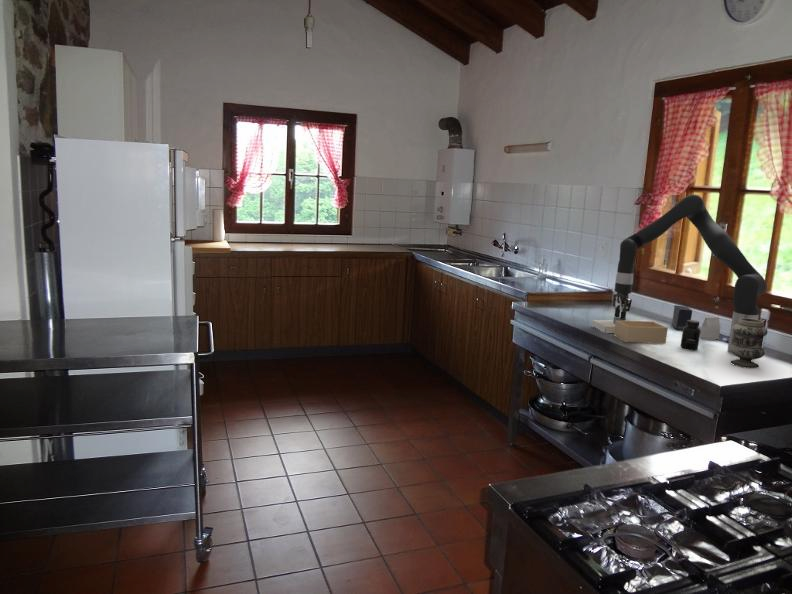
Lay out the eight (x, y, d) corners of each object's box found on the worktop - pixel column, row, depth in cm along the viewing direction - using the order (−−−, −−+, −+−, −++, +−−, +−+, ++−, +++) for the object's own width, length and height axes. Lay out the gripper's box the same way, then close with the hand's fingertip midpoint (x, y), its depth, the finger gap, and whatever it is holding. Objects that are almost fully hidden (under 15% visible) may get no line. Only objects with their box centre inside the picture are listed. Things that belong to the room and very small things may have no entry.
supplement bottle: (687, 350, 262) (691, 322, 259) (676, 346, 268) (680, 319, 266) (701, 350, 263) (705, 322, 261) (690, 346, 270) (694, 319, 268)
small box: (690, 331, 300) (693, 310, 298) (675, 330, 301) (678, 308, 299) (684, 326, 310) (687, 306, 308) (670, 325, 311) (673, 304, 309)
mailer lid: (645, 334, 287) (647, 321, 286) (604, 333, 285) (606, 320, 284) (631, 327, 301) (632, 314, 299) (592, 326, 298) (593, 313, 297)
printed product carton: (718, 340, 285) (721, 318, 283) (705, 339, 284) (708, 318, 282) (712, 338, 288) (716, 316, 287) (700, 337, 287) (703, 316, 285)
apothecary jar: (750, 361, 251) (757, 317, 247) (769, 370, 239) (776, 324, 236) (720, 359, 250) (727, 315, 247) (738, 368, 238) (745, 322, 235)
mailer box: (665, 343, 273) (667, 327, 272) (626, 342, 270) (628, 326, 269) (651, 336, 284) (653, 321, 283) (613, 335, 282) (615, 320, 281)
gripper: (639, 285, 282) (634, 321, 285) (624, 280, 296) (620, 315, 299) (623, 284, 281) (619, 321, 284) (609, 279, 295) (605, 314, 298)
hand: (619, 318), depth 292 cm, fingers open, 5 cm apart
